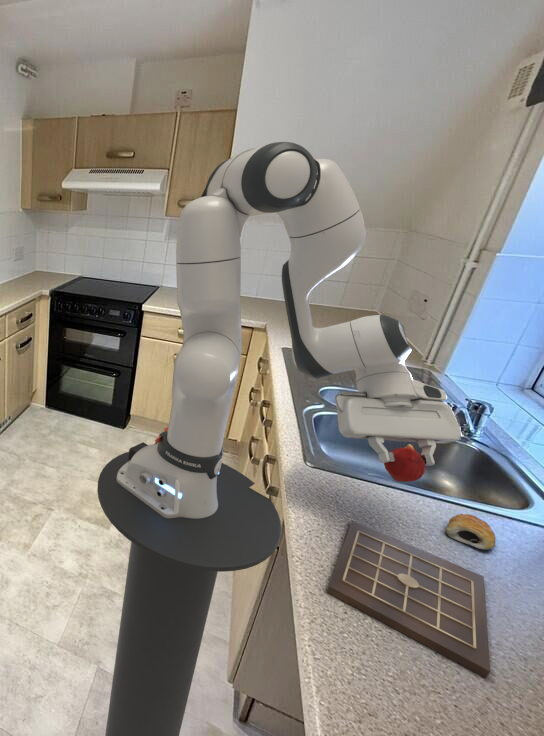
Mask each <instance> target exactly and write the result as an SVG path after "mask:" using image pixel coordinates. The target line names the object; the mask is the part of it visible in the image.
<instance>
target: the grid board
mask: <svg viewBox="0 0 544 736" xmlns="http://www.w3.org/2000/svg"><path fill="white" fill-rule="evenodd" d="M326 592H327V594H329V595H331V596H333V597H334V598H337V599H338V600H340V601H342V602H344V603H346V604H349V605H350V606H351V607H353V608H355V609H357V610H359V611H360V612H363V613H364V614H366V615H368V616H370V617H372V618H374V619H376V620H377V621H379V622H381V623H382V624H384V625H387V626H389V627H390V628H392V629H394V630H396V631H398V632H399V633H402V634H403V635H405V636H407V637H409V638H410V639H413V640H415V641H417V642H418V643H420V644H422V645H424V646H425V647H427V648H429V649H431V650H433V651H435V652H437V653H438V654H441V655H442V656H444V657H446V658H448V659H449V660H452V661H453V662H455V663H457V664H459V665H461V666H463V667H465V668H466V669H468V670H470V671H472V672H473V673H475V674H478V675H479V676H481V677H482V678H485V679H487V678H488V675H489V674H490V673H491V664H490V647H489V634H488V620H487V605H486V590H485V577H484V575H481V574H479V573H477V572H474V571H472V570H470V569H468V568H465V567H463V566H461V565H458V564H456V563H453V562H451V561H448V560H447V559H445V558H442V557H439V556H437V555H435V554H433V553H430V552H428V551H425V550H423V549H420V548H418V547H416V546H413V545H412V544H409V543H406V542H404V541H402V540H399V539H398V538H396V537H392V536H390V535H388V534H386V533H383V532H381V531H379V530H376V529H375V528H371V527H370V526H367V525H365V524H362V523H360V522H357V521H356V520H353V519H352V520H351V522H350V524H349V527H348V529H347V533H346V535H345V538H344V542H343V545H342V547H341V551H340V553H339V556H338V559H337V562H336V565H335V567H334V570H333V574H332V576H331V580H330V583H329V585H328V588H327V590H326Z"/></svg>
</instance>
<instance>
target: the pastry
mask: <svg viewBox="0 0 544 736" xmlns="http://www.w3.org/2000/svg"><path fill="white" fill-rule="evenodd" d="M445 532H446V534H447V536H448V537H449V538H451V539H453V540H456V541H458V542H460V543H462V544H466V545H469V546H471V547H474V548H476V549H479V550H486V551H487V550H490V549H493V548H495V546H496V540H497V538H496V534H495V532H494V530H492V528H491V526H490V525H489V524H488V522H487V521H485V520H482V519H481V518H479V517H478V516H475V515H474V514H469V513H460V514H459V513H458V514H456V515H454V516H452V517H450V518H449V520H448V523H447V526H446V528H445Z"/></svg>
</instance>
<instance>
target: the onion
mask: <svg viewBox="0 0 544 736" xmlns="http://www.w3.org/2000/svg"><path fill="white" fill-rule="evenodd" d="M389 452H393V454H394V458H395V462H393V463H383V466H384V468H385V470H386V472H387V473H388V474H389V475H390V477H391V478H392V479H393V480H394V481H395V482H398V483H400V482H401V483H408V482H409V483H410V482H415V481H418V480H419V479H421V478H422V477H423V476H424V475H425V473H426V469H427V466H426V465H425V462H424V460H423V458H422V457H421V453H419V452H418V451H417V450H416V449H415V448H414V446H413V444H410V443H408V444H406V446H405V447H398V448H395V449H392V450H390V451H389Z"/></svg>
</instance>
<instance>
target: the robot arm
mask: <svg viewBox="0 0 544 736" xmlns="http://www.w3.org/2000/svg"><path fill="white" fill-rule="evenodd" d="M273 213H276V214H277V215H278V216H279V217H280V219H281V221H282V222H283V225H284V228H285V231H286V233H287V236H288V239H289V242H290V254H289V258H288V260H286V261H285V262H284V263H283V264H282V268H281V286H282V293H283V298H284V299H283V300H284V305H285V310H286V314H287V315H286V317H287V320H288V326H289V332H290V337H291V356H292V361H293V363H294V366H295V367H296V368H297V371H298V372H300V373H302V374H304V375H305V376H308V377H311V378H313V379H315V380H316V379H317V380H318V379H320V378H325V377H328V376H333V375H336V374H338V373H345V372H349V371H351V372H352V371H354V372H355V384H356V389H357V391H347V390H342V391H340V392H339V393H337V394H336V395H335V397H334V404H335V407H336V414H337V425H338V430H339V431H338V432H339V433H340V434H341V435H342V436H343V437H344V438H345V439H346V438H347V439H362V440H367V442H368V446H370V447H371V448H372V449H373V451H374V452H376V454H377V455H378V459H379V461H380V463H381V464H384V463H393V462H395V458H394V454H393V452H390V451H388V449H387V448H386V447H385V445H384V444H383V443H385V441H393V442H411V443H417V444H418V447H419V448H422V449H421V453H420V455H421V457H422V458H423V460H424V462H425V465H426V467H429V466H435V463H436V462H435V459H434V456H433V455H434V453H435V451H436V448H437V444H443V445H444V444H445V445H446V444H451V443H454V442H458V441H459V440H460V439H461V437H462V431H461V427H460V424H459V422H458V420H457V418H456V417H457V416H456V415H455V413H454V410H453V408H452V407H451V406H450V405H449V404H448V403H447V402H445V400H447V399H448V396H447V393H446V391H445V390H444V389H442V388H439V387H435V386H432V385H430V384H427V383H423V382H421V381H419V380H416V379H413V377H412V373H411V372H410V371H409V370H408V368H407V366H406V362H405V361H406V360H407V358H408V357H409V356H410V354H411V352H412V348H411V347H410V345H409V342H408V338H407V335H406V331H405V327H404V324H403V323H402V321H400V320H398V319H396V318H394V317H391V316H388V315H386V314H375V315H374V314H373V315H366V316H361V317H358V318H355V319H353V320H352V319H351V320H350V321H346V322H341V323H338V324H334V325H329V326H325V327H315V326H314V325H313V320H312V314H311V307H310V301H309V295H310V293H311V292H312V290H313V289H315V288H316V287H317V286H318V285H319V284H320V283H322V282H323V281H325V280H326V279H327V278H328V277H330V276H332V275H333V274H334V273H337V272H338V271H339V270H341V269H342V268H344V267H345V266H346V265H348V263H350V262H351V261H352V260H353V259H354V258H355V257H356V256H357V254H359V252H360V251H361V249H362V248H363V246H364V243H365V241H366V237H367V230H366V224H365V220H364V215H363V211H362V209H361V206H360V204H359V201H358V199H357V196H356V194H355V192H354V190H353V188H352V186H351V184H350V182H349V180H348V178H347V177H346V175H345V174H344V172H343V171H342V169H341V168H340V167H339V165H338V164H337V162H335V161H334V160H332V159H329V158H315V157H313V155H312V153H310V152H309V151H308V149H306V148H305V147H303V145H300V144H297V143H295V142H292V141H275V142H271V143H268V144H265V145H264V146H259V147H253V148H249V149H246V150H244V151H242V152H240V153H237V154H235V156H232V157H229V158H227V159H225V160H223V161H222V162H221V163H219V164H218V166H216V167H215V168H214V170H213V171H212V172H211V174H210V175H209V177H208V180H207V182H206V185H205V188H204V189H203V192H202V193H201V196H200V197H198V198H196V199H194V200H192V201H190V202H189V203H187V204H186V205H185V206H184V207H183V208H182V210H181V212H180V215H179V219H178V225H177V233H176V242H175V243H176V246H175V249H176V250H175V269H176V271H175V273H176V296H177V297H176V298H177V301H176V302H177V306H178V309H179V313H180V318H181V325H182V326H181V327H182V334H183V335H182V336H183V337H182V338H183V339H182V345H181V347H180V349H179V351H178V353H177V354H176V356H175V359H174V362H173V363H174V364H173V372H172V385H171V407H170V408H171V409H170V413H169V414H170V415H169V419H168V420H169V421H168V426H167V427H165V428H164V429H163V430H164V431H162V432H161V433H159V434H158V436H157V437H156V438H155V440H154V443H152V444H147V443H146V442H140V443H138V444H136V445H133V446H132V447H129V450H128V452H129V457H128V459H129V460H130V461H129V462H127V463H126V464H124V465H123V466H122V467H121V468H120V470H119V471H118V474H117V478H116V481H117V483H119V484H120V485H121V486H123V487H124V488H125V489H127V490H128V491H129V492H131V493H132V494H133V495H135V496H136V497H137V498H139V499H140V500H141V501H143V502H144V503H145V504H147V505H148V506H149V507H151V508H152V509H153V510H155V511H156V512H157V513H159V514H160V515H161V516H163V517H165V518H177V517H184V518H193V519H198V518H205V517H208V516H211V515H212V514H214V513H215V512H216V510H217V508H218V500H217V475H218V474H219V471H220V468H221V463H223V456H224V446H223V444H224V439H225V434H226V430H227V425H228V420H229V415H230V411H231V407H232V401H233V396H234V392H235V388H236V383H237V379H238V375H239V374H238V373H239V368H240V363H241V358H242V352H243V351H242V350H243V347H242V346H243V345H242V338H243V337H242V306H241V285H242V284H241V280H242V279H241V277H242V275H241V272H242V271H241V269H242V266H241V265H242V262H241V261H242V251H241V249H242V248H241V236H242V232H243V228H244V226H245V223H246V221H247V220H248V218H249V217H252V216H261V215H266V214H273Z"/></svg>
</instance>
